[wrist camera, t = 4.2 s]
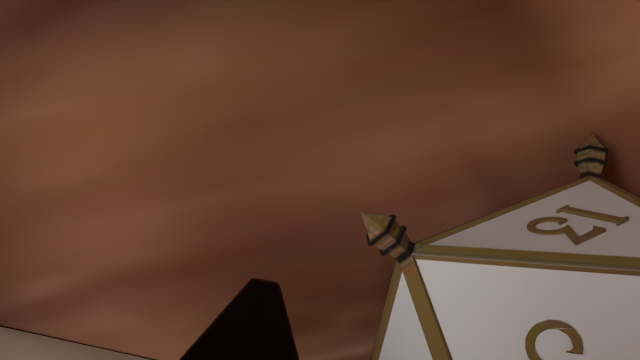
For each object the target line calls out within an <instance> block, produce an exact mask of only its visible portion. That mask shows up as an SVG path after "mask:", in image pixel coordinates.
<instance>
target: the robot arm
mask: <svg viewBox="0 0 640 360" xmlns="http://www.w3.org/2000/svg"><path fill="white" fill-rule="evenodd" d="M179 360H299V357H298V353H297V349H296V346H295V342H294V338H293V334H292V330H291V326H290V322H289V319H288V315H287V311H286V307H285V303H284V299H283V295H282V292H281V288H280V285H279V284H278V283H277V282H273V281H268V280H263V279H258V278H252V279H251V280H250V281H249V282H248V283H247V284H246V285H245V286H244V287H243V288H242V289H241V291H240V292H239V293H238V294H237V295H236V296H235V297H234V299H233V300H232V301H231V302H230V303H229V304H228V305H227V306H226V308H225V309H224V310H223V311H222V312H221V313H220V314H219V315H218V317H217V318H216V319H215V320H214V321H213V322H212V323H211V324H210V326H209V327H208V328H207V329H206V330H205V331H204V332H203V333H202V335H201V336H200V337H199V338H198V339H197V340H196V341H195V343H194V344H193V345H192V346H191V347H190V348H189V349H188V350H187V352H186V353H185V354H184V355H183V356H182V357H181V358H180V359H179Z"/></svg>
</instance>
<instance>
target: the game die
mask: <svg viewBox="0 0 640 360" xmlns="http://www.w3.org/2000/svg"><path fill="white" fill-rule="evenodd" d="M574 153H575V154H576V155H577V161H575V162H574V165H576V166H577V167H578V168H579V171H580V177H579V179H576V180H574V181H571V182H569V183H566V184H564V185H561V186H559V187H556V188H554V189H551V190H549V191H546V192H543V193H541V194H538V195H536V196H533V197H531V198H528V199H526V200H523V201H521V202H518V203H515V204H513V205H510V206H508V207H505V208H503V209H500V210H498V211H495V212H493V213H490V214H488V215H485V216H482V217H480V218H477V219H475V220H472V221H470V222H467V223H465V224H462V225H460V226H457V227H454V228H452V229H449V230H447V231H444V232H442V233H439V234H437V235H434V236H432V237H429V238H427V239H424V240H421V241H419V242H416V243H412V242H410V240H409V238H408V237H407V235H406V233H405V231H406V229H407V228H406V227H405V226H400V225H399V224H398V223H397V222H396V221H395V218H396V216H395V215H394V214H393V215H390V216H383V215H378V214H372V213H367V212H361V214H362V217H363V220H364V224H365V227H366V230H367V233H368V234H367V241H368V244H369V245H370V246H372V245H375V246H376V247H377V248H379V251H380V254H381V255H382V256H384V255H386V254H387V255H389V256H391V257H393V258H396V263H395V267H394V271H393V275H391V277H392V279H391V282H390V286H389V290H388V294H387V298H386V302H385V305H384V309H383V313H382V317H381V321H380V324H379V328H378V332H377V336H376V340H375V344H374V347H373V351H372V355H371V359H370V360H640V198H639V197H637V196H635V195H633V194H631V193H629V192H627V191H625V190H623V189H621V188H619V187H617V186H615V185H613V184H611V183H609V182H607V181H605V180H603V179H602V177H601V172H602V170H603V169H604V167H605V166H606V165H607V161H605V156H606V154H607V153H608V149H606V148H604V147H603V146H602V145H601V143H600V142H599V141H598V140H597V138H596V137H595V136H594V135H593V133H591V135H590V136H589V137H588V138H587V139H586V141H585V142H584V143H583V144H582V145H581V146H580V148H579V149H576V150H574Z"/></svg>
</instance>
